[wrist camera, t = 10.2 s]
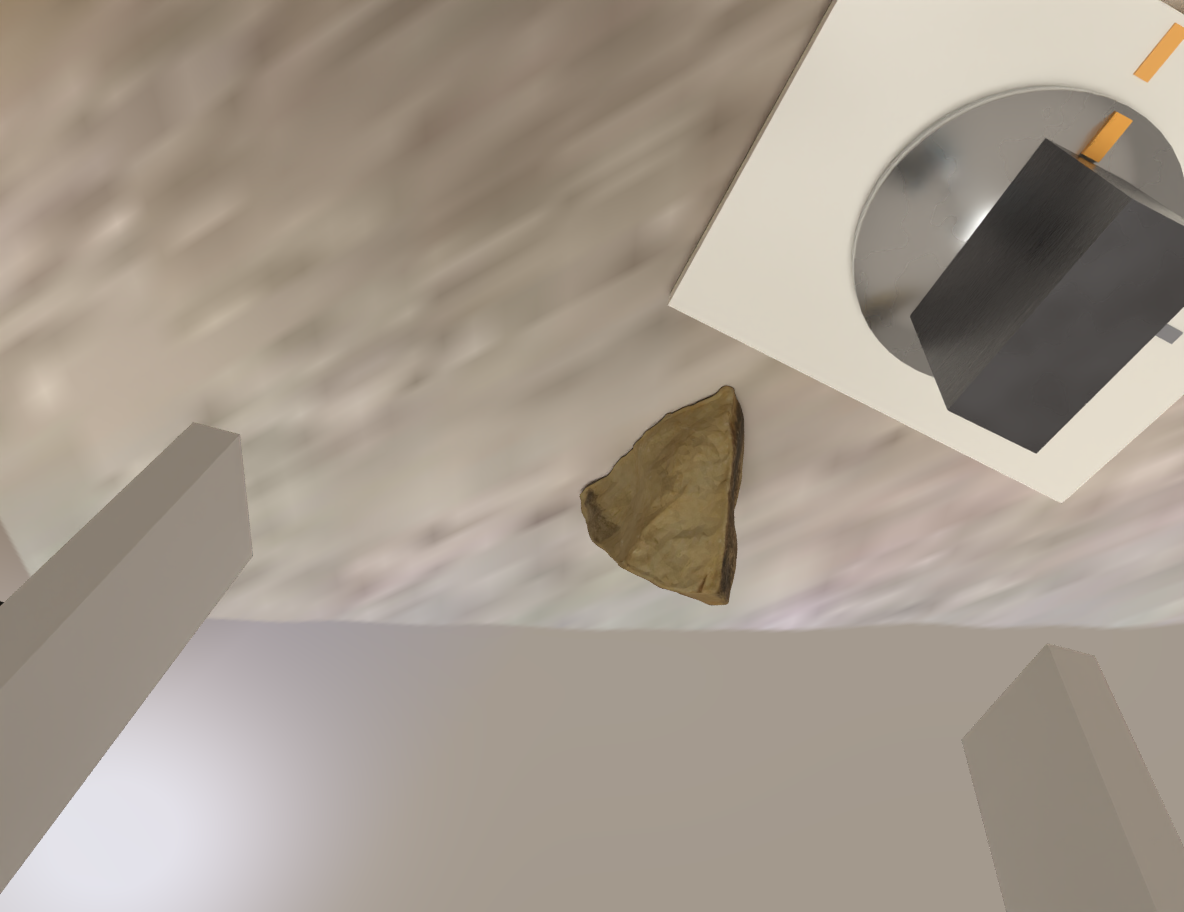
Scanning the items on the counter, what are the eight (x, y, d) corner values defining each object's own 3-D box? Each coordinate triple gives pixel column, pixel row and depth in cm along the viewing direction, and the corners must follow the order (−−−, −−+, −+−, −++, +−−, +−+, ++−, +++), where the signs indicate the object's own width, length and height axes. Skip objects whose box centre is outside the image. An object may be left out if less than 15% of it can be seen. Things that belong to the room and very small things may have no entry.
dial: (1024, 415, 35) (1094, 540, 28) (797, 303, 34) (808, 402, 27) (1253, 175, 28) (1425, 257, 21) (978, 25, 27) (1058, 58, 20)
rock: (586, 578, 45) (755, 591, 42) (521, 595, 37) (723, 613, 34) (591, 398, 46) (759, 395, 42) (529, 376, 38) (728, 370, 34)
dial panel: (670, 292, 37) (667, 306, 36) (909, -140, 26) (917, -143, 25) (1052, 485, 39) (1062, 504, 38) (1411, 155, 29) (1441, 166, 27)
